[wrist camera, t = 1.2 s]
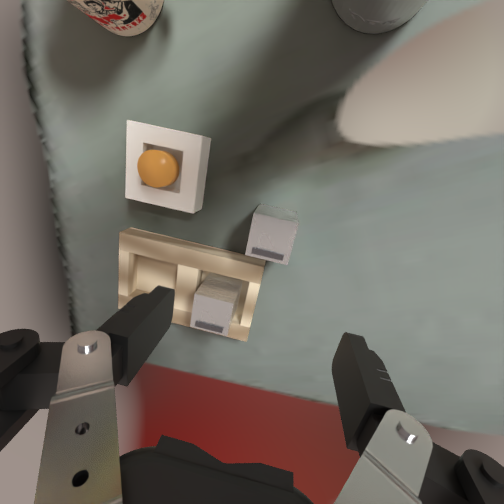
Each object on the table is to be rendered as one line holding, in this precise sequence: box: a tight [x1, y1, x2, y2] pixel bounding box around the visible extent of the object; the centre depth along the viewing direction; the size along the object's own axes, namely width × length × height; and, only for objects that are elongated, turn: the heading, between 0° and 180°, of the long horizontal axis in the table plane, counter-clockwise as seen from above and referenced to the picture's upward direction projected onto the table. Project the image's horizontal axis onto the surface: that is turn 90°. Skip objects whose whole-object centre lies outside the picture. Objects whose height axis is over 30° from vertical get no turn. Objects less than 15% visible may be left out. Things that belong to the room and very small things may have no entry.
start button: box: [137, 150, 179, 188], centre depth 26 cm, size 4×4×2 cm
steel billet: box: [245, 203, 299, 265], centre depth 28 cm, size 4×4×6 cm
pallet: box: [118, 227, 266, 342], centre depth 33 cm, size 11×18×2 cm, turn 79°
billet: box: [190, 272, 243, 336], centre depth 31 cm, size 4×4×6 cm
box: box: [125, 120, 211, 214], centre depth 28 cm, size 8×8×3 cm
